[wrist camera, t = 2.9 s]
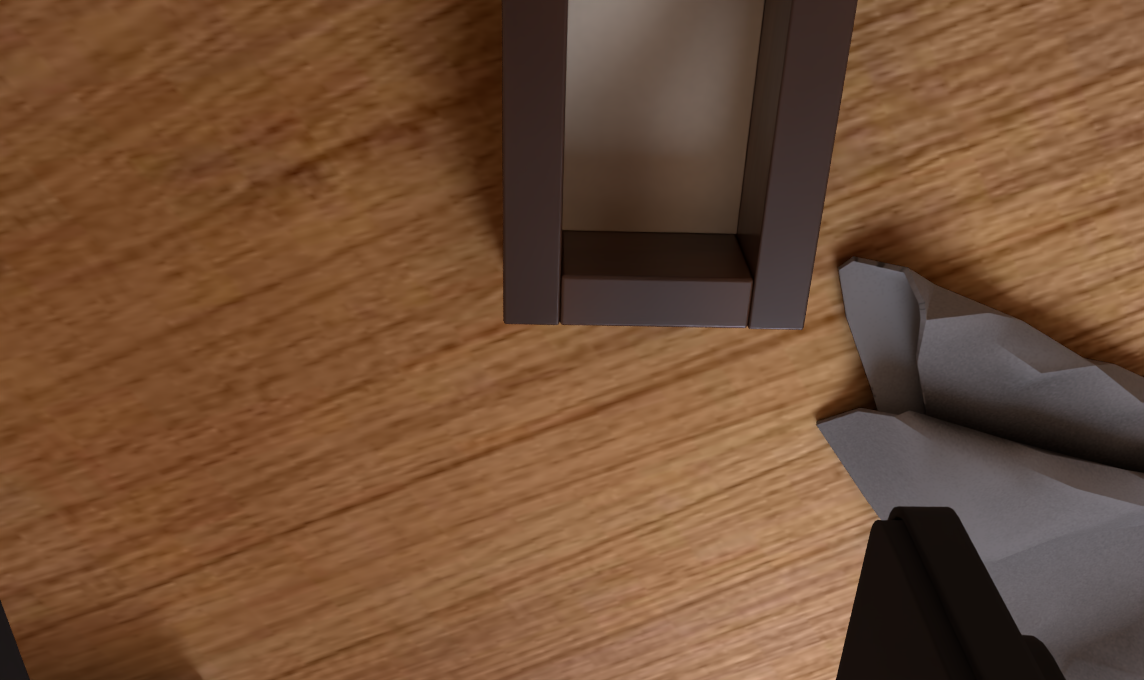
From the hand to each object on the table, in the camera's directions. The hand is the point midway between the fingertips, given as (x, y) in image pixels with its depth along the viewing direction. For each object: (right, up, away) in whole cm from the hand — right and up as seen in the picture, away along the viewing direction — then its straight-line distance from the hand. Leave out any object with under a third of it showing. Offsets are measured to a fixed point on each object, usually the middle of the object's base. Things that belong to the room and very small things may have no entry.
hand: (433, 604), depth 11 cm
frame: (+4, +9, +14) cm, 17 cm away
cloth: (+18, -4, +22) cm, 29 cm away
